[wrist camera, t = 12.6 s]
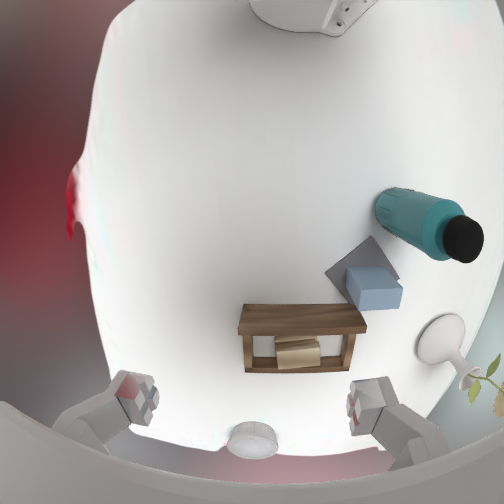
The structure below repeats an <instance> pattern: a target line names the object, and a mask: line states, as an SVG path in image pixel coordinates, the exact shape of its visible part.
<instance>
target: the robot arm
mask: <svg viewBox="0 0 504 504" xmlns="http://www.w3.org/2000/svg"><path fill="white" fill-rule="evenodd" d="M376 1H377V0H249V2H250V6H251V8H252V10H253V11H254V13H255V14H256V15H257V16H258V17H259V18H260V19H262V20H263V21H265V22H266V23H268V24H270V25H272V26H274V27H277V28H280V29H284V30H288V31H295V32H320V33H323V34H327V35H330V36H340V35H341V34H343V33H344V32H345V30H346V29H348V28H349V27H350V26H351V25H352V24H353V23H354V22H355V21H356V20H357V19H358V18H359V17H360V16H361V15H362V14H363V13H364V12H365V11H366V10H367V9H368V8H369V7H370V6H371V5H373V4H374V3H375V2H376ZM337 24H339V25H341V26H338V25H337ZM154 382H155V381H154V379H153V377H152V376H150V375H145V374H140V373H135V372H129V371H125V370H120V371H118V373H117V374H116V376H115V377H114V379H113V380H112V382H111V383H110V385H109V386H108V388H107V389H106V391H105V392H104V393H100V394H97V395H95V396H93V397H91V398H89V399H87V400H85V401H83V402H81V403H80V404H78V405H75V406H73V407H71V408H69V409H67V410H65V411H63V412H62V414H61V415H60V416H59V418H58V419H57V421H56V422H55V423H54V425H53V426H52V428H51V429H49V428H47V427H46V426H44V425H42V424H40V423H38V422H36V421H34V420H33V419H31V418H30V417H28V416H26V415H25V414H23V413H22V412H20V411H18V410H16V409H15V408H14V407H12V406H11V405H9V404H8V403H6V402H4V401H0V504H504V428H502V429H500V430H499V431H497V432H495V433H493V434H491V435H489V436H487V437H485V438H483V439H481V440H479V441H477V442H475V443H472V444H470V445H468V446H465V447H463V448H461V449H459V450H456V451H453V452H451V451H450V448H449V446H448V443H447V441H446V438H445V436H444V434H443V431H442V430H441V429H440V428H438V427H437V426H435V425H434V424H432V423H431V422H429V421H428V420H426V419H425V418H423V417H422V416H420V415H419V414H417V413H416V412H414V411H413V410H411V409H410V408H408V407H407V406H405V405H404V404H399V402H398V399H397V397H396V394H395V392H394V389H393V387H392V384H391V382H390V379H389V378H388V377H387V376H386V377H380V378H372V379H365V380H356V381H352V382H351V385H350V390H351V392H350V393H349V394H348V397H347V404H346V408H347V415H348V416H349V417H350V418H351V420H350V423H349V425H350V430H351V435H352V436H358V435H366V434H371V435H372V436H373V437H374V438H375V439H376V440H377V441H378V442H379V443H380V444H381V445H382V446H383V447H384V448H385V449H386V450H387V451H388V452H389V453H390V454H391V455H392V456H393V457H394V458H396V460H395V462H394V463H393V464H392V466H391V467H390V468H389V469H388V472H385V473H380V474H376V475H371V476H366V477H360V478H353V479H347V480H339V481H330V482H319V483H303V484H254V483H253V484H252V483H239V482H227V481H218V480H210V479H204V478H197V477H191V476H185V475H181V474H176V473H171V472H166V471H162V470H158V469H154V468H150V467H146V466H143V465H139V464H136V463H132V462H129V461H126V460H123V459H120V458H117V457H114V456H111V455H110V453H109V451H108V450H107V449H106V447H105V446H104V444H105V443H106V442H108V441H109V440H110V439H112V438H113V437H115V436H116V435H117V434H118V433H120V432H121V431H123V430H124V429H125V428H126V427H128V426H129V425H131V423H134V424H138V425H143V426H149V424H150V422H151V419H152V417H153V414H152V411H153V410H155V409H156V408H157V406H158V404H159V392H158V389H157V388H156V387H155V386H154V385H153V384H154Z"/></svg>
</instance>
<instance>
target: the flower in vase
mask: <svg viewBox="0 0 504 504" xmlns="http://www.w3.org/2000/svg"><path fill="white" fill-rule="evenodd" d="M464 335H465V325H464V321H463V319H462V318H461V317H460V316H458V315H455V314H450V315H445V316H442V317H440V318H438V319H437V320H435V321H434V322H433V323H432V324H431V325H430V326H429V327H428V328H427V329H426V330H425V332H424V333H423V335H422V336H421V339H420V341H419V345H418V357H419V359H420V360H421V361H422V362H424V363H426V364H430V365H434V364H440V363H443V362H445V361H447V360H448V361H450V362H451V363H452V364H453V366H454V367H455V369H456V371H457V373H458V376H459V389H460V390H466V389H468V388H470V389H469V392H468V396H469V400H470V403H471V404H473V402H474V400H475V398H476V397H477V395H478V393H479V392H480V389H481V385H480V382H479V380H478V379H484V380H488V381H490V382H491V383H492V384H493V385H494V386H495V387H496V388H498V389H499V391H498V395H497V396H496V398H495V404H494V410H493V412H495V415H496V416H497V415H498V418H500V419H502V418H503V417H504V382H503V383H502V385H501V388H499V387H498V386H497V385H496V384H494V382H492V381H491V380H490V379H488V378H487V377H489V376H491V375H492V374H493V373H494V372H495V371H496V369H497V368H498V365H499V363H500V354H499V355H498V357H497V358H496V359H495V361H493V362H492V363H491V365H490V366H489V368H488V370H487V375H486V378H485V377H480V376H481V373H482V369H481V368H480V367H474V366H472V365H470V364H469V363H467V361H466V360H465V359H464V358H463V357H462V356H461V354H460V352H459V348H460V347H461V344H462V342H463V339H464Z"/></svg>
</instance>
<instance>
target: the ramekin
mask: <svg viewBox="0 0 504 504" xmlns="http://www.w3.org/2000/svg"><path fill="white" fill-rule="evenodd" d="M227 447H228V449H229V451H230V452H232V453H233V454H235V455H237V456H239V457H242V458H247V459H263V458H267V457H270V456H272V455H274V454H275V453H276V452H277V451H278V443H277V441H276V436H275V432H274V430H273V429H272V428H271V427H269V426H268V425H266V424H263V423H259V422H245V423H242V424H240V425H238V426H237V427H235V428H234V430H233V432H232V435H231V437H230V439H229V440H228V443H227Z"/></svg>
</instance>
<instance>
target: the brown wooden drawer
mask: <svg viewBox="0 0 504 504" xmlns="http://www.w3.org/2000/svg"><path fill="white" fill-rule="evenodd" d="M366 329H367V325H366V323H365V321H364V319H363V317H362V315H361V313H360V311H358V309H357V307H356V305H355V304H350V303H344V304H289V305H275V304H244V305H243V309H242V313H241V318H240V322H239V326H238V335H243V348H244V365H245V372H246V373H321V372H339V371H349V367H350V363H351V358H352V354H353V349H354V344H355V339H356V334H361V333H366ZM318 335H344V338H343V344H342V349H341V355H340V356H325V357H320V365H318V366H310V367H301V368H291V369H278V364H277V357H253V336H318Z"/></svg>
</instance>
